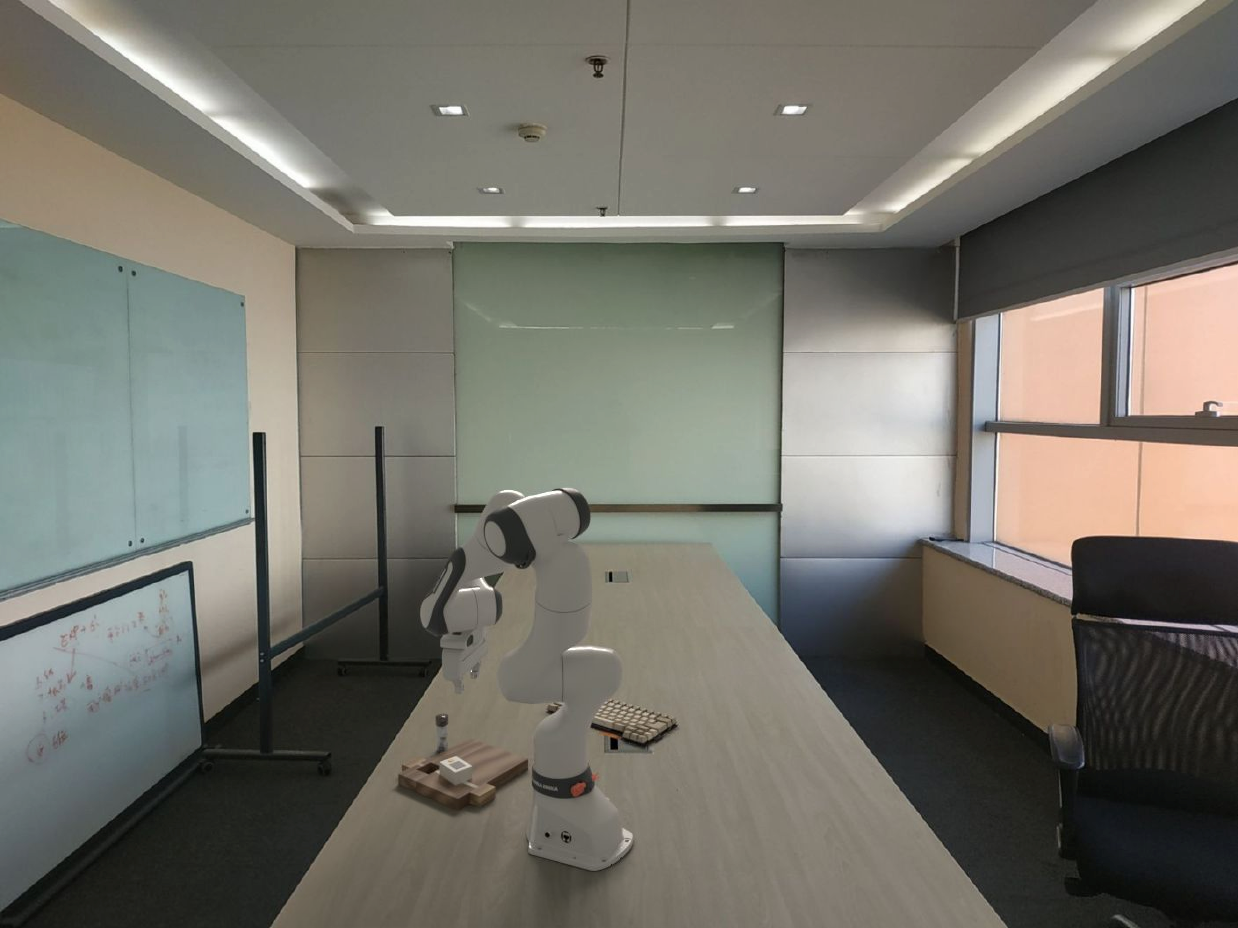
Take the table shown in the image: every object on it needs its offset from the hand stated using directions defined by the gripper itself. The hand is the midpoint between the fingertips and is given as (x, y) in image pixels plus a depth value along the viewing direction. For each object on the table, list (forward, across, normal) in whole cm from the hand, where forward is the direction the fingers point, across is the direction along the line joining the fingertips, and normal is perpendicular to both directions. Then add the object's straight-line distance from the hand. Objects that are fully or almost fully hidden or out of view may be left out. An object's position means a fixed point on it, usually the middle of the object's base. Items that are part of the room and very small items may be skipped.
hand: (467, 685), depth 179 cm
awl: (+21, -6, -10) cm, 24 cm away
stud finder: (+17, +11, +2) cm, 21 cm away
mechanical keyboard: (+22, -34, +29) cm, 50 cm away
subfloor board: (+20, +6, +2) cm, 21 cm away
